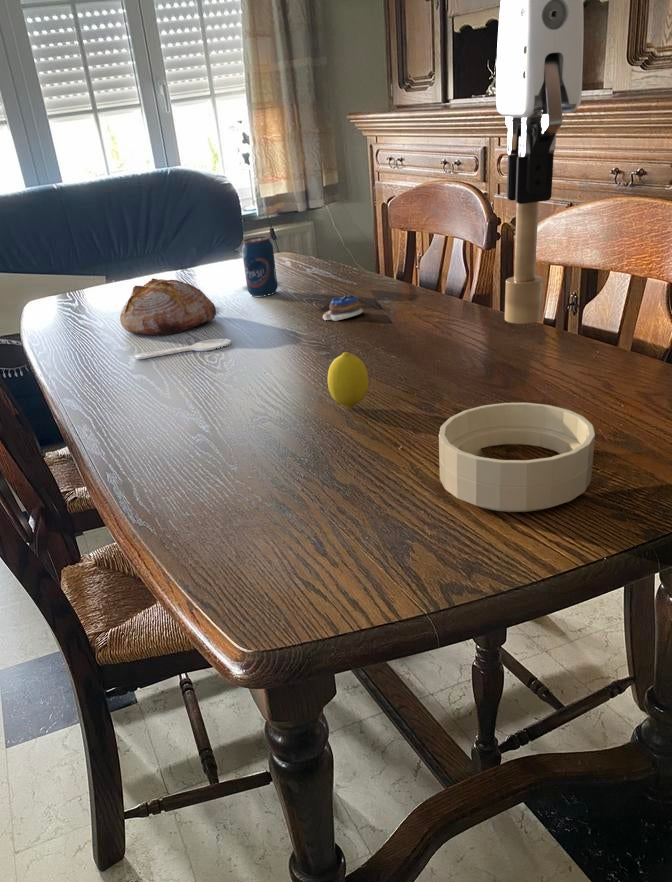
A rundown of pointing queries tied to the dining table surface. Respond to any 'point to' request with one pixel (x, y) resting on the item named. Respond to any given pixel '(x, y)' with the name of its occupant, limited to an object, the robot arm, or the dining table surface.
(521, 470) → the bowl
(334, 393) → the lemon
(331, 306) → the dessert
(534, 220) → the pestle
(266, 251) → the soda can
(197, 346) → the spoon
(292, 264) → the dining table surface
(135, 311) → the bread
